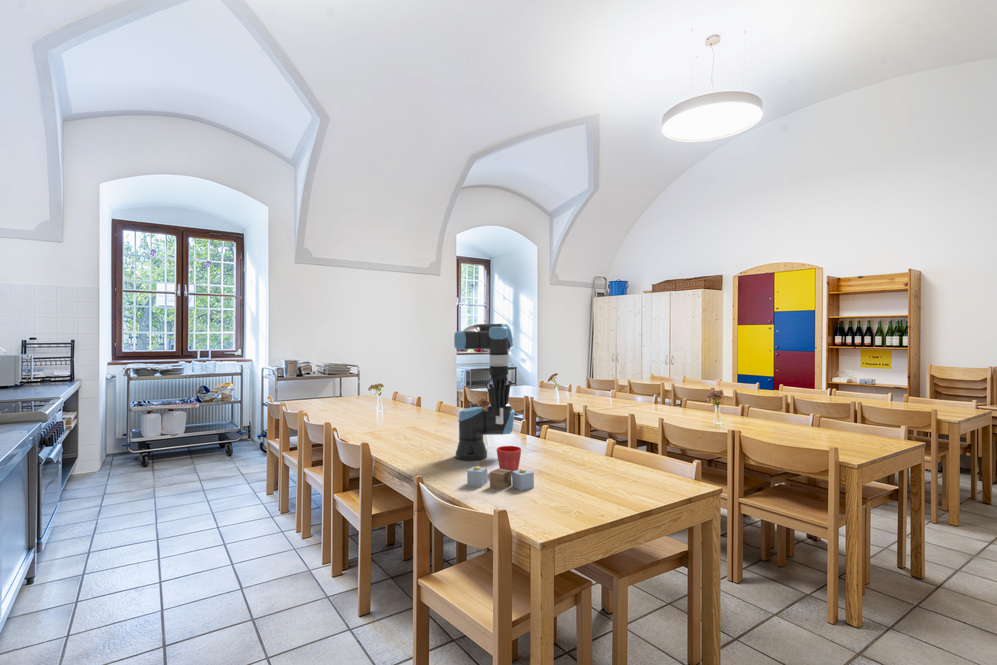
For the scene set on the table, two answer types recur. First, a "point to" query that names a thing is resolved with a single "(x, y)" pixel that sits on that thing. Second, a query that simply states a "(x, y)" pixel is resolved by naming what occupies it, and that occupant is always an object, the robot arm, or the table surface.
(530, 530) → the table surface
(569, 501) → the table surface
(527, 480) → the stud block
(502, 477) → the walnut block
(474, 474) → the stud block
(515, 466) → the flower pot
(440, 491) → the table surface
